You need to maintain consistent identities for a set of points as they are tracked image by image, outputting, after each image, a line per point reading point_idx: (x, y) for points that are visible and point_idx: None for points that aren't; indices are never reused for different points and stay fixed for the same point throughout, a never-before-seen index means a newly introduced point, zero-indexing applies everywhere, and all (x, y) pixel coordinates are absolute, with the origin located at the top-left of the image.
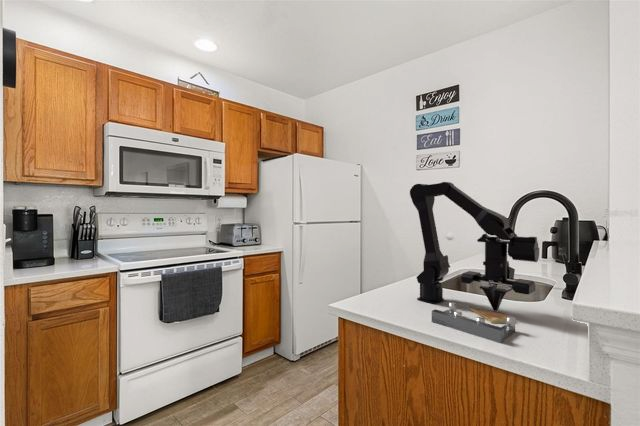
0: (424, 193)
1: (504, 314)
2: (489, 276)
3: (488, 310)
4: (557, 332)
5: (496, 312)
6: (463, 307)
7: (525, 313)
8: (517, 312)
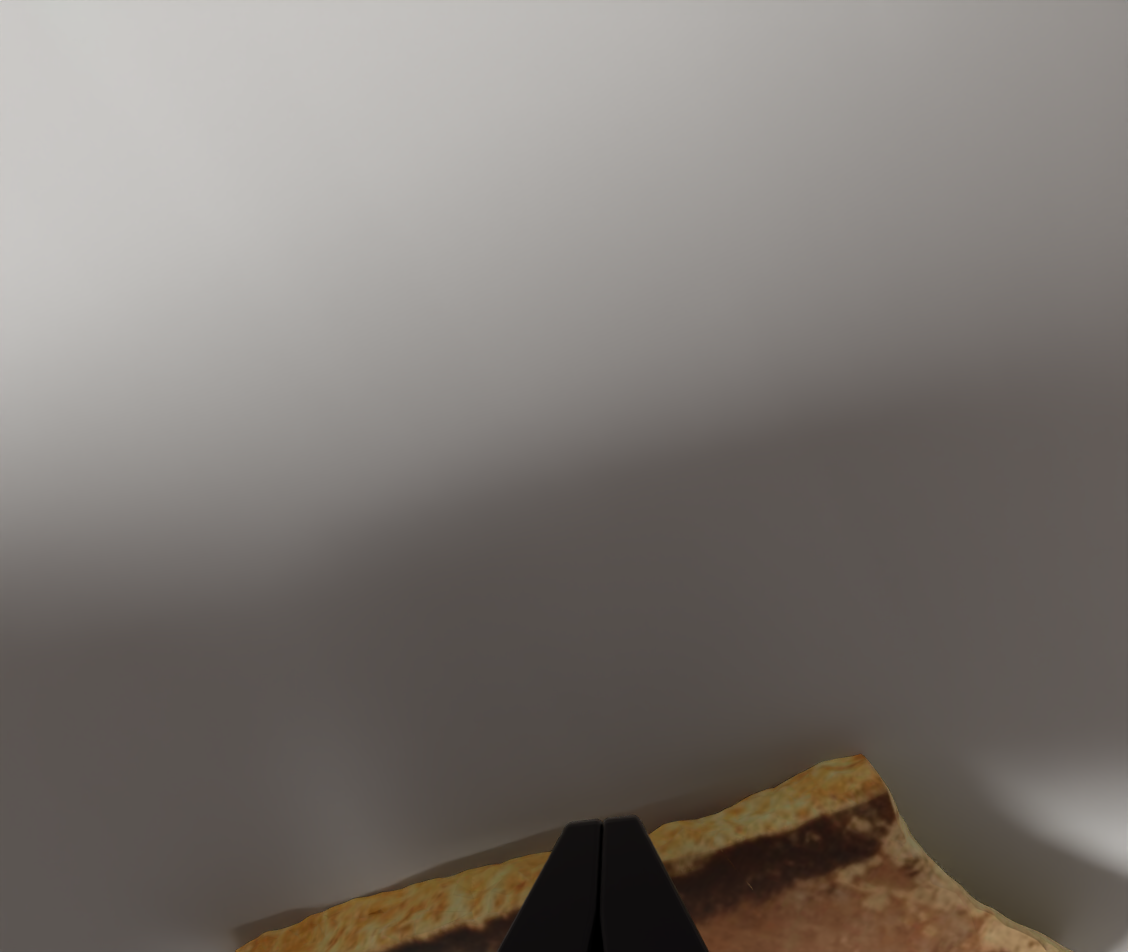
0: None
1: (868, 897)
2: None
3: (498, 923)
4: None
5: None
6: (5, 905)
7: (1078, 71)
8: (870, 204)
